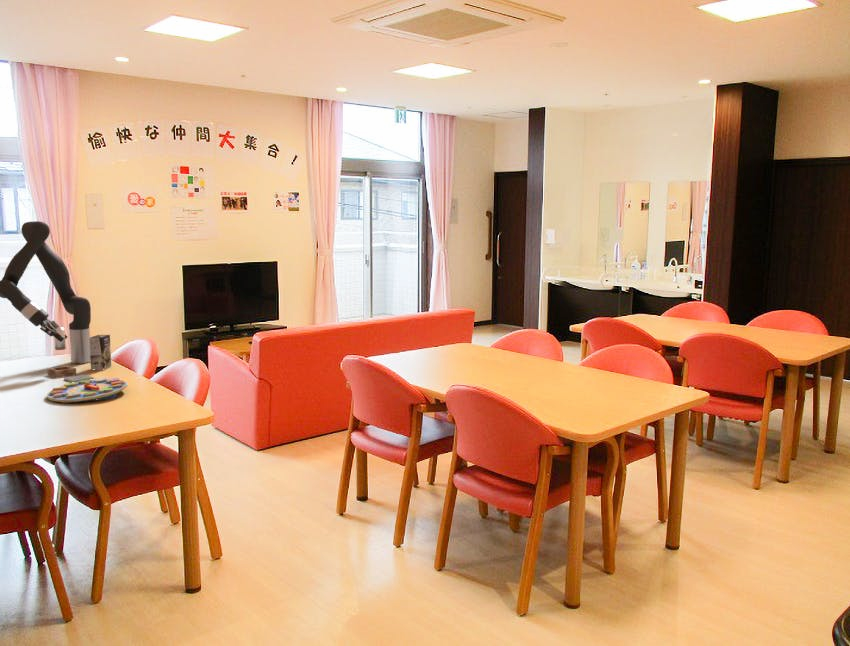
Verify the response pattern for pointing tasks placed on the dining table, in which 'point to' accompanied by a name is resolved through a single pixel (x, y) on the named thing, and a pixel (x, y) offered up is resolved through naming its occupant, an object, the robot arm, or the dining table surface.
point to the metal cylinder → (58, 344)
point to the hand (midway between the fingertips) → (64, 339)
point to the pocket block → (61, 371)
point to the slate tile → (78, 378)
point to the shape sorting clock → (87, 390)
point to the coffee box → (100, 352)
